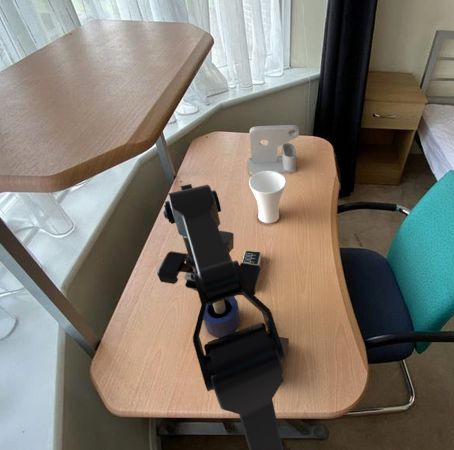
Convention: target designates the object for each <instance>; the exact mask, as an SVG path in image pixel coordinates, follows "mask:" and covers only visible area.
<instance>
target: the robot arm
mask: <svg viewBox="0 0 454 450" xmlns="http://www.w3.org/2000/svg"><path fill="white" fill-rule="evenodd" d="M179 187H180V190H177V191H176V190H175V191H173V192H169V193H168V194H167V197H168V200H166V201H164V205H163V209H162V213H163V216H164V218H165V219H166V220H168V223H170V224H171V225H176V229H177V231H178V234H179V236H181V237H182V239H183V243H184V246H185V249H186V252H180V251H176V250H175V251H174V250H171V251H169V252H167V254H166V255H165V257H164V258H163V260H162V262H161V263H160V265H159V266H158V268H157V273H156V275H157V277H158V279H159V281H160V283H165V284H172V285H175V284H177V283H178V281H179V278H178V276H179V274H180V273H185V275H184V277H183V278H184V280H186V282H185V288H187V289H190V290H193V291H196V292H197V294H198V297H199V301H200V308H199V312H198V316H197V320H196V323H195V324H196V325H195V328H194V331H193V335H192V343H193V346H194V350H195V354H196V357H197V361H198V364H199V368H200V371H201V376H202V379H203V382H204V386H205V388H206V391H207V392H210V391H214V393H215V397H216V399H217V402H218V404H219V407H220V409H221V410H224V411H226V412H230V413H233V414H236V415H238V416H239V420H240V422H241V423H240V424H241V426H242V430H243V433H244V436H245V439H246V443H247V446H248V450H291V448H290V447H288V445H287V442H286V440H285V439H284V438H283V437H281V433H280V429H279V424H278V420H277V415H276V411H275V406H274V401H273V399H274V397H275V395H276V393H277V392H278V390H279V389H280V387H281V385H282V383H283V382H284V375H283V376H282V367H281V361H280V360H283V359H284V352H283V348H282V344H281V341H280V338H279V337H280V335H279V332H278V329H277V326H276V323H275V319H274V316H273V313H272V311H271V309H270V308H269V307H268V306H267V305H266V304H264V302H262V301H261V300H260V299H259V298H258V297H257V296H256V293H257V290H258V286H259V283H260V282H261V277H262V274H263V272H262V267H261V264H260V265H258V264H252V263H245V262H242V261H241V262H240V263H239V261H238V260H233V259H232V257H231V254H230V253H231V252H232V250H234V244H235V243H234V240H235V238H234V237H235V235H234V233H233V232H232V231H226V230H225V231H224V230H220V228H219V226H220V225H221V220H220V216H219V213H220V212H222V207H221V203H220V199H219V196H218V193H217V191H216V190H215V189H214V190H212V188H211V186H210V185H209V184H204V185H199V186H195V187H193V185H192V184H191V183H189V184H185V185H180V186H179ZM233 296H234V297H237V296H243V297H244V298H245V299H246V300H247V301H248V302H249V303H250V304H251V305H253V306H254V307H255V308H256V310H258V311H259V312H260V313H261V314H262V317H263V320H264V321H263V322H261V321H260V322H257V323H254V324H252V325H249V326H247V327H244V328H241V329H239V330H236V332H233V333H231V334H228V335H226V336H223V337H220V338H215V339H213V340H209V341H207V343H205V344H204V346H203V345H202V341H201V337H200V334H201V331H202V326H203V324H204V321H203V319H204V315H205V311H206V307H207V304H208V305H210V304H213V303H216V302H219V301H222V300H225V299H228V298H231V297H233Z"/></svg>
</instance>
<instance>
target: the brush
mask: <svg viewBox="0 0 454 450" xmlns="http://www.w3.org/2000/svg"><path fill="white" fill-rule="evenodd" d="M213 307H214V310H215V312H216V313H217V314H222V313H224V312H225V310H226V307H225V303H224V300H222V301H219V302H216V303H213Z"/></svg>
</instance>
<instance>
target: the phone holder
mask: <svg viewBox="0 0 454 450" xmlns="http://www.w3.org/2000/svg"><path fill="white" fill-rule="evenodd" d="M291 131H294V132H291ZM299 135H300V129H299V127H298V126H297V125H295V124H284V125H283V124H282V125H281V124H280V125H259V126H251V128H250V129H249V142H250V155H251V156H250V157H249V158H248V169H249V171H248V172H249V173H250V175H252V176H253V175H254V174H256V173H258V172H262V171H274V172H277V173H280V174H287V173H288V174H289V173H295V172H297V151H296V148H295V145H294V144H293V143H290V142H292V141H293V140H295V139H297V138H298V137H299ZM262 141H266V142H267V143H266V144H262V143H261V142H262ZM279 147H281V155H278V148H279Z"/></svg>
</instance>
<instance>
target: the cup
mask: <svg viewBox="0 0 454 450" xmlns="http://www.w3.org/2000/svg"><path fill="white" fill-rule="evenodd" d="M248 185H249V187H250V189H251V191H252V193H253V195H254V198H255V200H256V203H257V208H258V214H257V215H258V216H257V217H258V219H259V221H260V222H262V223H264V224H273V223H276V222H277V221H278V220H279V219H280V210H279V209H280V208H279V207H280V201H281V198H282V195H283V193H284V190H285V187H286V185H287V179H286V178H285V176H284V175H283V174H282V173H277V172H274V171H262V172H258V173H256V174H254V175H252V176H251V177H250V178H249V181H248Z"/></svg>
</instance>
